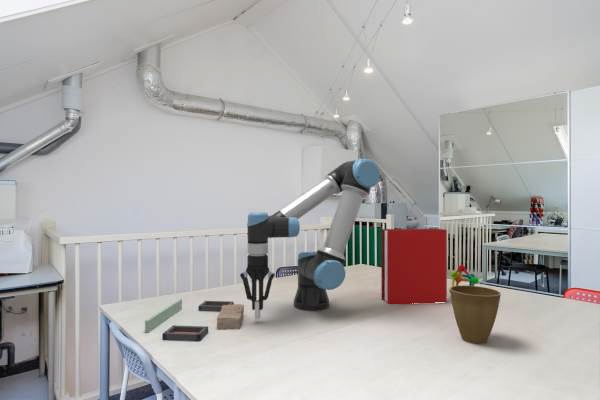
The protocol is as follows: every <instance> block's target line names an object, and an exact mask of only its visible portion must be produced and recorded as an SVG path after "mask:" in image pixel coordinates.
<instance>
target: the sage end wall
mask: <svg viewBox="0 0 600 400" xmlns="http://www.w3.org/2000/svg"><path fill="white" fill-rule="evenodd" d="M182 309H183V299H182V298H179V299H177V300H176V301H174V302H172V303H171V304H170V305H168V306H166V307H164V308H163V309H161V310H160V311H158V312H157V313H155V314H153V315H151V316H150V317H148V318H147V319H145V321H144V332H145V333H150V332H152V330H154V329H155V328H157V327H159V326H161V324H163V323H164V322H166V321H167V320H168V319H170V318H171V317H173V316H174V315H175V314H178V312H179V311H181V310H182Z"/></svg>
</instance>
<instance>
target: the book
mask: <svg viewBox="0 0 600 400" xmlns="http://www.w3.org/2000/svg"><path fill="white" fill-rule="evenodd" d="M447 231H448V230H447V229H443V228H381V301H386V302H387V303H386V304H403V305H415V304H414V303H435V302H447V301H448V299H447V298H448V297H447V296H448V293H447V292H448V284H447V283H448V281H447V280H448V277H447V276H448V273H447V272H448V270H447V266H448V265H447V263H448V259H447V258H448V257H447V256H448V255H447V253H448V252H447V251H448V249H447V248H448V247H447V246H448V243H447V242H448V241H447V239H448V238H447V237H448V235H447V234H448V232H447ZM412 303H413V304H412ZM447 303H448V302H447Z"/></svg>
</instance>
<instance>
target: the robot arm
mask: <svg viewBox="0 0 600 400" xmlns="http://www.w3.org/2000/svg"><path fill="white" fill-rule="evenodd" d="M380 173H381V172H380V168H379V167H378V165H377V163H376V162H375V161H373V160H372V159H369V158H358V159H354V160H349V161H345V162H342V163H341V164H340V165H339V166H337V167H336V168H334V169H333V170H331V171H330V172H329V173H328V174H326V175H324V179H323V180H322V181H319V183H317V184H316V185H314V186H312V188H310V189H308V190H306V192H304V193H302V194H300V196H298V197H296V198H295V199H294V200H292V201H291V202H289V203H288V204H287V205H285V206H283V207H282V208H281V209H280V210H278V211H277V212H275V213H273V214H272V215H269V214H268V212H249V213H248V214H247V224H246V226H247V229H246V230H247V246H246V247H247V249H246V251H247V254H248V255H247V256H246V257H247V259H246V260H247V261H246V263H247V265H246V269H245V271H243V272H241V273H240V274H239V276H240V278H241V280H242V282H243V287H244V291H245V295H246V299H247V300H249V301H251V309H252V311H254V320H255V321H257V320H258V321H259V320H260V319H261V311H262V310H263V309H264V301H267V299H268V298H269V295H270V290H271V287H272V282H273V279H274V278H275V276H276V273H275V272H272V271H270V268H269V256H268V254H269V239H272V238H296V237H298V236H299V234H300V227H301V226H300V220H299V219H300V218H302V217H304V216H305V215H307V213H310V211H312V210H313V209H315V208H316V207H318V206H319V205H320V204H322V203H323V202H325V201H326V200H328V199H329V198H331V197H332V196H333V195H339V194H340V193H341V192H342V193H341V196H340V199H339V202H338V204H337V207H336V210H335V212H334V215H333V218H332V220H331V223H330V227H329V230H328V232H327V234H326V238H325V241H324V243H323V246H322V247H320V248H318V249H317V251H301V252H299V253H298V255H297V261H296V262H297V290H296V293H295V296H294V298H293V306H294V307H295V309H297V310H298V309H299V310H303V311H321V310H326V309H328V308H330V299H329V295H328V292H327V291H331V290H332V291H333V290H334V289H337V288H339V287H340V286H341V285H342V284H343V282H344V280H345V279H346V269H345V267H344V266H345V263H346V257H345V255H344V254H345V251H346V248H347V245H348V242H349V240H350V236H351V233H352V231H353V227H354V226H355V223H356V220H357V217H358V213H359V211H360V208H361V205H362V203H363V200H364V199H365V198H367V197H369V195H370V192H371V188H373V187H374V186H376V185H377V184H378V183H379V181H380V176H381V174H380ZM248 276H249V278H250V279H251V287H250V284H249V279H248ZM266 277H267V278H268V279H267V283H266V287H265V292H264V282H265V281H264V279H265V278H266ZM257 281H258V298H257Z"/></svg>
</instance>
